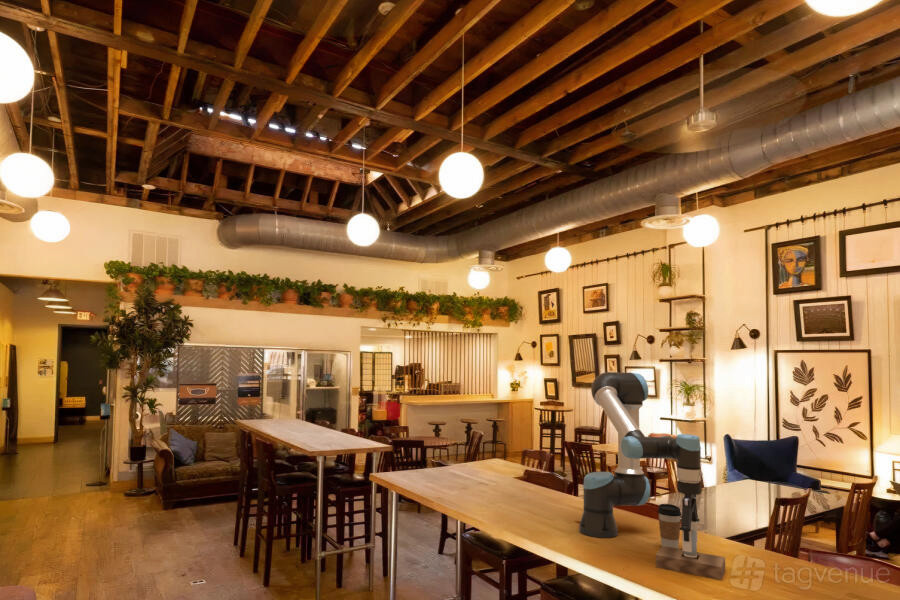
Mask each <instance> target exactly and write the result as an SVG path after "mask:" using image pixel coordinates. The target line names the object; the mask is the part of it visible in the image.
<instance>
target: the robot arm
mask: <svg viewBox="0 0 900 600" xmlns="http://www.w3.org/2000/svg"><path fill="white" fill-rule="evenodd" d="M590 389H591V392H590V393H591V397H592V398H593V400H594V401H595V403H596V404H597V405H598V406H600V407H601V409H603V411H604V413H605V415H606V417H608V419H609V420H610V422H611V424H612V426H613V428H614V429H615V431H616V432H617V452H618V453H617V455H618V457H617V459H618V460H617V461H618V463H617V464H618V466H617V468H616V469H614V474H613V472H611V471H593V472H592V471H591V472H589V473H587V474H586V475H585V476H584V477H583V485H582V487H583V511H582V512H583V513H582V515H581V517H580V522H579V524H578V531H579V532H580V533H581V534H583V535H586V536H587V537H589V536H590V537H595V538H603V539H605V538H609V539H610V538H614V537H616V536H618V535H619V530H618V529H619V528H618V525H617V522H616V519H615V515H614V506H616V507H619V506H623V507H624V506H632V507H637V506H643V505H645V504H646V503H647V502H648V501H649V499H650V495H651V483H650V479H648V477H646V476H645V472H644V471H643V470H642V469H641V459H660V460H661V459H662V460H663V459H665V460H666V459H667V460H669V459H670V460H675V461H676V479H677V482H676V484H677V485H676V486H677V488H676V489H677V492H678V493H680V494H684V496H683V497H682V499H681V502H682V505H681V522H680V531H682V532H681V537H682V538H681V539H682V541H681V542H682V543H681V544H682V546H681V547H682V549H683V551H687V552H692V538H691V530H694V531H696V538H697V543H698V541H699V540H698V523H700V518H699V516H698V515H699V514H698V505H697V496H698V495H701V494H702V483H701V481H702V476H703V472H702V470H701V466H702V465H701V462H702V461H701V460H702V458H701V457H702V456H701V453H702V452H701V451H702V450H701V449H702V447H701V438H700V436H698V435H695V434H691V433H690V434H688V433H679V434H677V435H676V437H674V436H671V435H662V436H646V435H645V434H644V433H643V432H642V430H641V429H640V409H641V408H642V407H643V406H644V405H643V402H645V401H646V400H647V399H648V396H649V386H648V382H647V380H646V379H645V377H644V376H643V375H642V374H641V373H636V372H619V371H618V372H613V371H605V372H602V373H600V374H598V375H597V376H596V377H595V378H594V379H593V381H592V383H591V387H590Z"/></svg>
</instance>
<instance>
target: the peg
mask: <svg viewBox="0 0 900 600" xmlns="http://www.w3.org/2000/svg"><path fill="white" fill-rule="evenodd" d="M691 538H692V552H687V551H684V557H686V558H692V559H697V552H698V549H697V548H698V547H697V545H698V544H697V543H698V542H697V540H698V537H697V538H696V531H694V530H691Z"/></svg>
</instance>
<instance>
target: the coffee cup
mask: <svg viewBox="0 0 900 600" xmlns="http://www.w3.org/2000/svg"><path fill="white" fill-rule="evenodd" d="M657 514H658V524H659V535H660V542H661V547H662V546H666V547H672V548H677V549H680V548H679V545H680V534H681V532H680V531H681V530H680V527H681V522H682V520H681V517H682V511H681V509H680V507H679V506H678V505H674V504H671V503H660V504H658V509H657Z"/></svg>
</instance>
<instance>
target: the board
mask: <svg viewBox="0 0 900 600" xmlns="http://www.w3.org/2000/svg"><path fill="white" fill-rule="evenodd" d="M655 567H656V568H657V567H658V569H662V568H663V570H668V571H672V572H678V573H683V574H689V575H693V576H697V577H703V578H707V579H708V578H709V579H713V580H717V581H723V579H724V575H725V572H726V557H725V556H721V555H715V554H710V553H703V552H700V551H699V552H698V551H697V559H692V558H686V557H684V551H683V548H682V549H681V548H678V549H677V548H672V547H666V546H662V545H661V547H660V549H659V550H658V551H657V553H656V554H655Z"/></svg>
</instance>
